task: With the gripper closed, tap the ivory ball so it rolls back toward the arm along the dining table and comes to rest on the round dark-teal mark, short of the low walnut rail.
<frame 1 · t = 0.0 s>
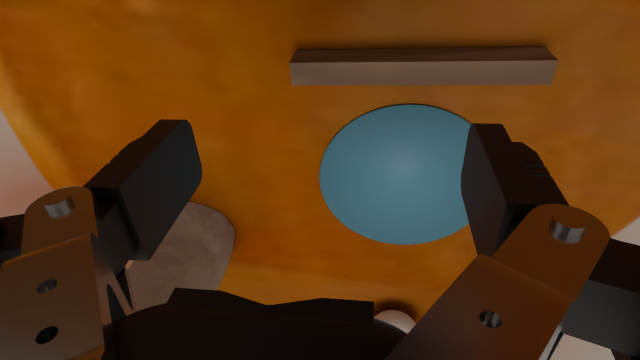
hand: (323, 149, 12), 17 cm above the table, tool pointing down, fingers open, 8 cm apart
figurine: (202, 223, 39), on the table
ball: (393, 337, 41), on the table
rail: (414, 59, 27), on the table
mark: (404, 182, 33), on the table
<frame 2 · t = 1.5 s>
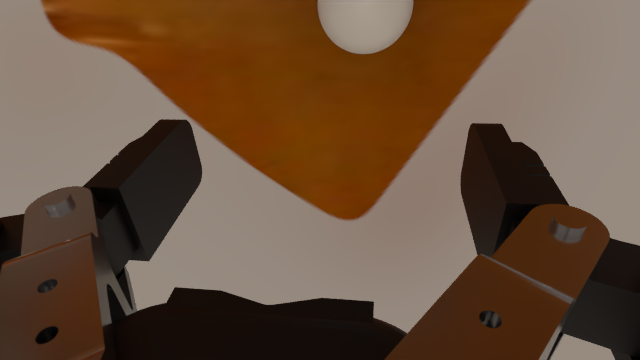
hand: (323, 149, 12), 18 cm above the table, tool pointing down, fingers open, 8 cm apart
ball: (364, 4, 23), on the table
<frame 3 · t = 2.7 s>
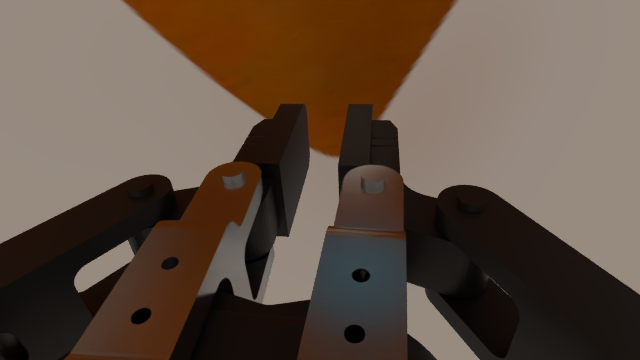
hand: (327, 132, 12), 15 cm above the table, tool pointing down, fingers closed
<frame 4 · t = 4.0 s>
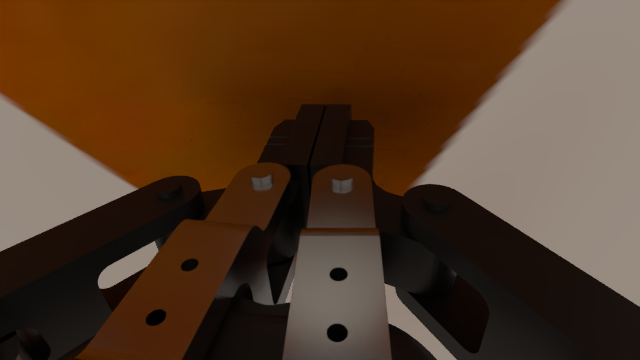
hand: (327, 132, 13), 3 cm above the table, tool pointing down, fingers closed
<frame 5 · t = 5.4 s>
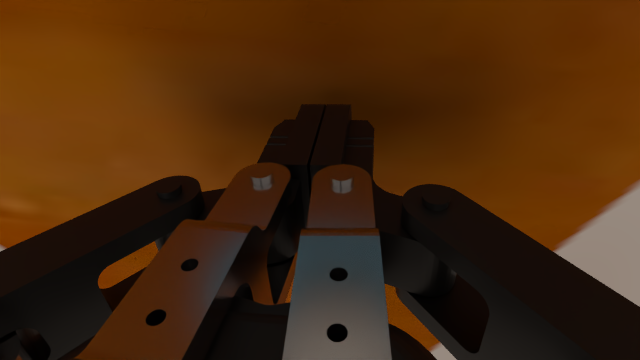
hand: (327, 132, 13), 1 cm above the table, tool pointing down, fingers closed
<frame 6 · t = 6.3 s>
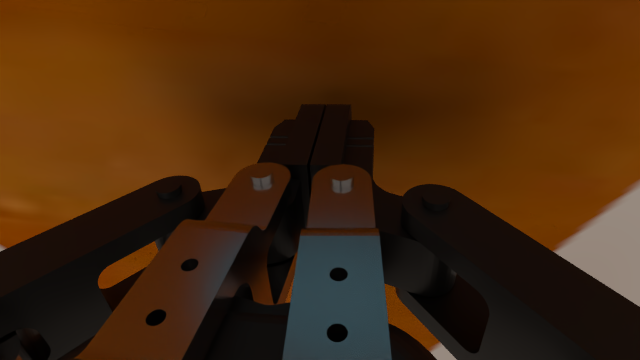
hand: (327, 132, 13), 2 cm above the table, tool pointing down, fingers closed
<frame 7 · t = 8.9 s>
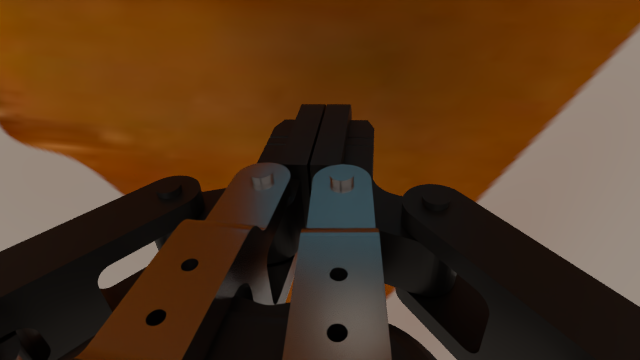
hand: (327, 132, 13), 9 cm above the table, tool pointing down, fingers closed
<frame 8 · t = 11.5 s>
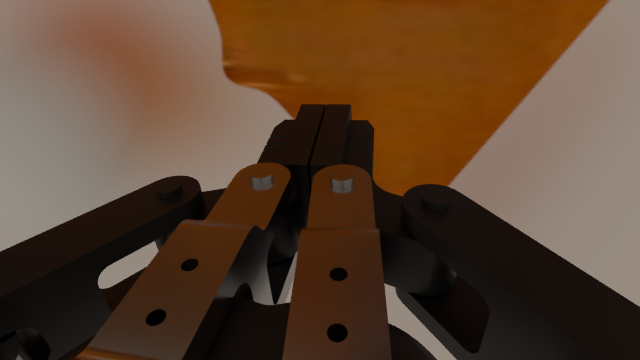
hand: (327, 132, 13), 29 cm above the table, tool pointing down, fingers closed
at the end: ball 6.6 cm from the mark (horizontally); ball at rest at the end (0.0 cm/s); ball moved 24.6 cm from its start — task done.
